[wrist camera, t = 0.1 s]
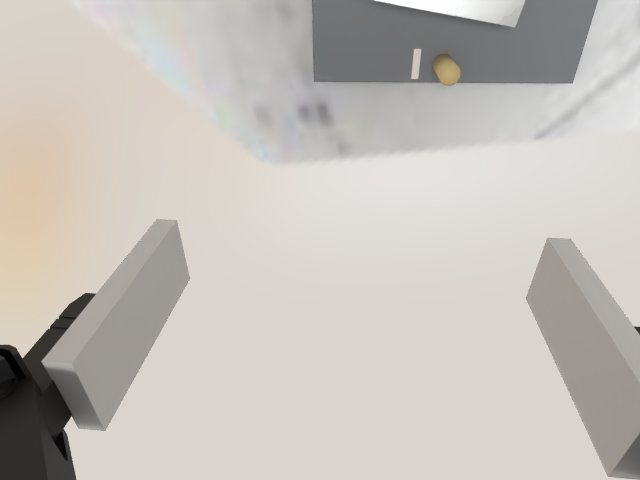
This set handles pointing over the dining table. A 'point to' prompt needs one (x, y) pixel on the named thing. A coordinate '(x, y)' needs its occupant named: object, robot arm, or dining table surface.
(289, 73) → the dining table surface
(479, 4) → the handled square frame
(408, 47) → the jig
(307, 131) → the dining table surface
